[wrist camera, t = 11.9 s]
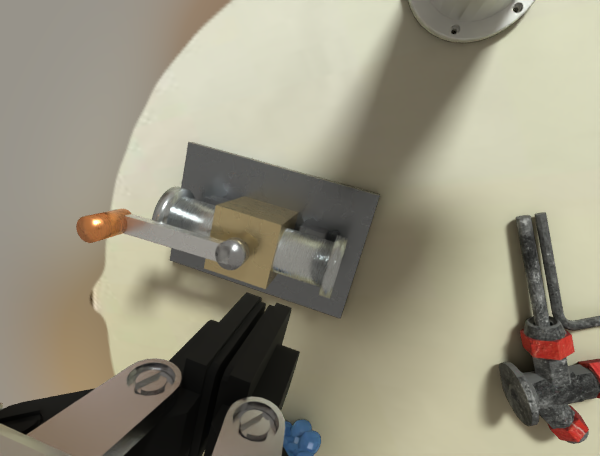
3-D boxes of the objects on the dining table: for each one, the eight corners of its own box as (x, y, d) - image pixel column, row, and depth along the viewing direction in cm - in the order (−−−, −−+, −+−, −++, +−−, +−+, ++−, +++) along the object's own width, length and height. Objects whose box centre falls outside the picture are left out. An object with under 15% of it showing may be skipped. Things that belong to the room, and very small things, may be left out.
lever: (251, 241, 31) (230, 257, 26) (246, 268, 32) (224, 287, 27) (119, 203, 33) (77, 211, 29) (117, 229, 34) (75, 240, 29)
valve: (635, 405, 39) (504, 425, 40) (604, 192, 36) (465, 223, 38) (694, 447, 33) (537, 470, 34) (663, 193, 30) (493, 231, 31)
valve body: (193, 142, 41) (140, 138, 32) (379, 194, 38) (382, 207, 28) (174, 257, 45) (122, 284, 36) (341, 314, 42) (332, 360, 32)
